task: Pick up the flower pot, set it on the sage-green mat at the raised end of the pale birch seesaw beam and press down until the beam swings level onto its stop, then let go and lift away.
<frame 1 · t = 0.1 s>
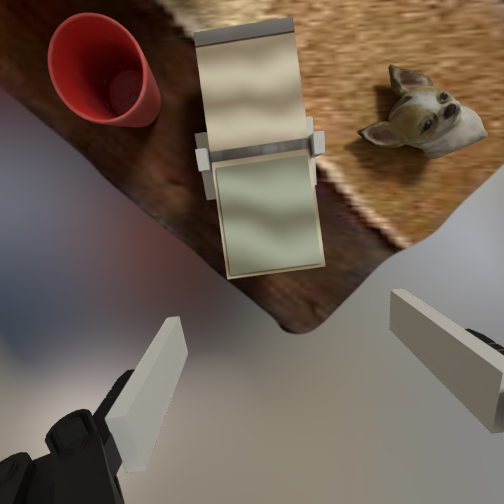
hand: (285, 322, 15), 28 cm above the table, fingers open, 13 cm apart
flower pot: (137, 100, 36), on the table
stand: (257, 160, 38), on the table
beam: (259, 153, 30), point 9 cm above the table, hinge at -15.0°
ceramic sculpture: (405, 125, 38), on the table
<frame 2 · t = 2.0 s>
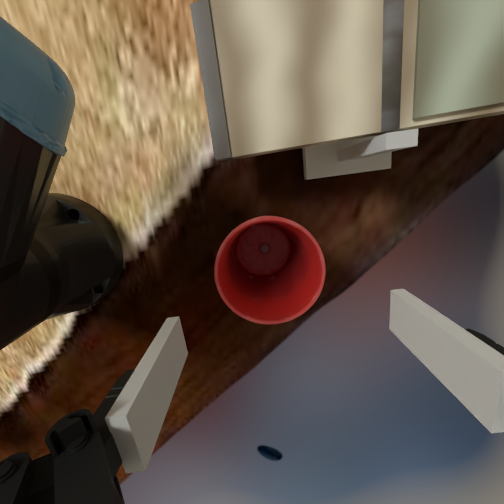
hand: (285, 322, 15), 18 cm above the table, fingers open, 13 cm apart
flower pot: (263, 247, 32), on the table
stand: (342, 91, 27), on the table
beam: (389, 45, 18), point 9 cm above the table, hinge at -15.0°
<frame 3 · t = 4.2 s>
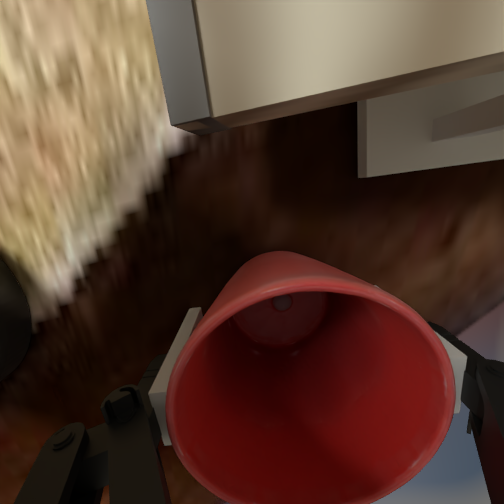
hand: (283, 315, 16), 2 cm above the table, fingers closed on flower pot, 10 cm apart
flower pot: (278, 297, 18), on the table, touching gripper
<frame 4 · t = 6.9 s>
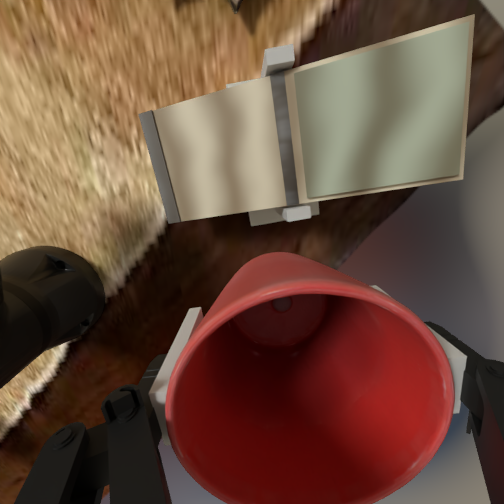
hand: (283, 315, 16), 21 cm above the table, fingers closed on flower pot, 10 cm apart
flower pot: (278, 298, 18), point 19 cm above the table, touching gripper
stand: (275, 155, 33), on the table
beam: (286, 144, 24), point 9 cm above the table, hinge at -15.0°
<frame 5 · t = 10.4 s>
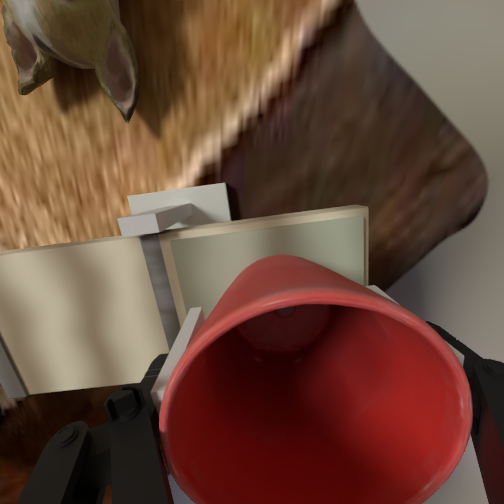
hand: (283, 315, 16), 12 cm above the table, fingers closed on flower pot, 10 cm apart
flower pot: (281, 302, 17), point 10 cm above the table, touching beam, gripper
stand: (195, 268, 28), on the table
beam: (172, 307, 19), point 9 cm above the table, hinge at -1.4°, touching flower pot
ceramic sculpture: (97, 29, 22), on the table
when the fingers open (12 cm above the table, at t = 11.7 s): flower pot stays where it is, resting on beam.
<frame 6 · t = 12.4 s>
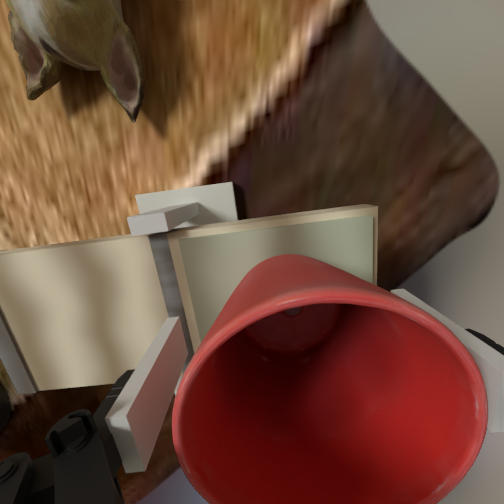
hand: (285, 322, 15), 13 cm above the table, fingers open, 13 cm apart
flower pot: (288, 301, 17), point 10 cm above the table, touching beam
stand: (201, 267, 28), on the table
beam: (179, 305, 19), point 9 cm above the table, hinge at -1.3°, touching flower pot
ceramic sculpture: (100, 30, 22), on the table
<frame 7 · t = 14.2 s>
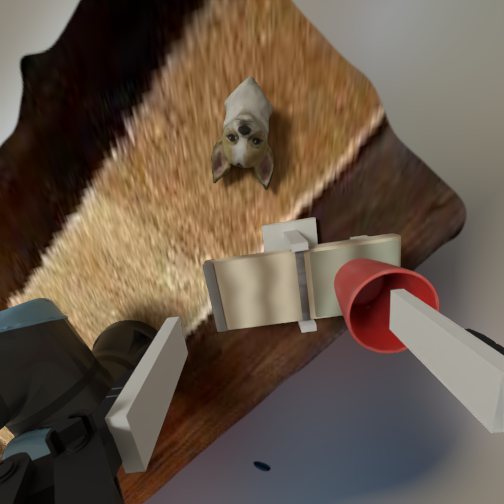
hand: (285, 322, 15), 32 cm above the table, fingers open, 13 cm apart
flower pot: (358, 280, 37), point 10 cm above the table, touching beam
stand: (292, 265, 47), on the table
beam: (302, 284, 38), point 9 cm above the table, hinge at -1.2°, touching flower pot
ceramic sculpture: (245, 143, 41), on the table
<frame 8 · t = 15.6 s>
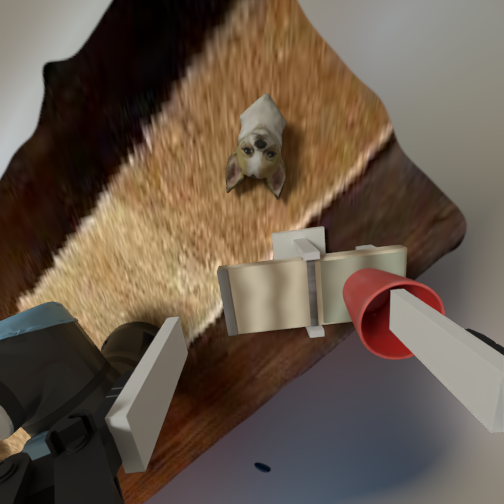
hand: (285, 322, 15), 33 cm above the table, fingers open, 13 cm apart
flower pot: (365, 289, 39), point 10 cm above the table, touching beam
stand: (300, 272, 49), on the table
beam: (311, 291, 40), point 9 cm above the table, hinge at -1.2°, touching flower pot
ceramic sculpture: (258, 154, 43), on the table
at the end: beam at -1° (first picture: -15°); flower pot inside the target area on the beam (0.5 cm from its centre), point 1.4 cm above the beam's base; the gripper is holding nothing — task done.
